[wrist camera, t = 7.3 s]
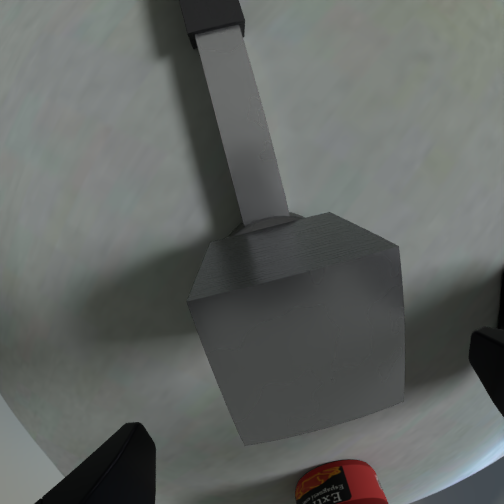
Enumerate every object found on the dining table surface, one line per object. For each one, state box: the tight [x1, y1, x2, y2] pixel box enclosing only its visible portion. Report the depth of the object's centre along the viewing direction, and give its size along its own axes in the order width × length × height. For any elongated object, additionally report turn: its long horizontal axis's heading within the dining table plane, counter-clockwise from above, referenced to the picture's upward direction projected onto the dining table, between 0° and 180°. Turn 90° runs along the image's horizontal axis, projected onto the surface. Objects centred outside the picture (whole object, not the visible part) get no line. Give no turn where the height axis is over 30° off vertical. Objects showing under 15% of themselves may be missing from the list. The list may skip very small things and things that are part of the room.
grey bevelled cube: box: [187, 212, 405, 446], centre depth 12 cm, size 6×6×7 cm
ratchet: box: [179, 0, 305, 237], centre depth 12 cm, size 24×6×6 cm, turn 14°
